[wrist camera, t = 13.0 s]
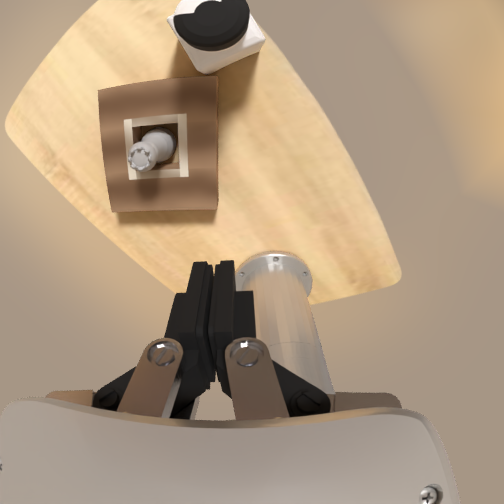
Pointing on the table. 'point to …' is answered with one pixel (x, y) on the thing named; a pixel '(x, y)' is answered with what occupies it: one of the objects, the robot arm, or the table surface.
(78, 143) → the table surface
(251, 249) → the table surface
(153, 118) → the board
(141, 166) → the rook chess piece
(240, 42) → the medicine bottle
